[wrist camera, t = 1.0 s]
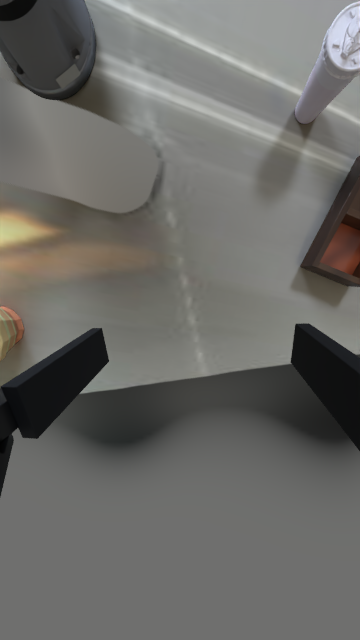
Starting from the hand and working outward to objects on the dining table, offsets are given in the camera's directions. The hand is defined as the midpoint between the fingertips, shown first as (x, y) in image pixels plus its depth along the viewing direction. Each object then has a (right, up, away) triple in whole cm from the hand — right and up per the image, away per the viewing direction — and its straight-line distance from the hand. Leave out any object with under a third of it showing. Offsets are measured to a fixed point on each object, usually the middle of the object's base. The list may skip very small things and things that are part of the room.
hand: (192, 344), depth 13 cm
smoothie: (+20, +36, +18) cm, 45 cm away
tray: (+30, +19, +21) cm, 41 cm away
